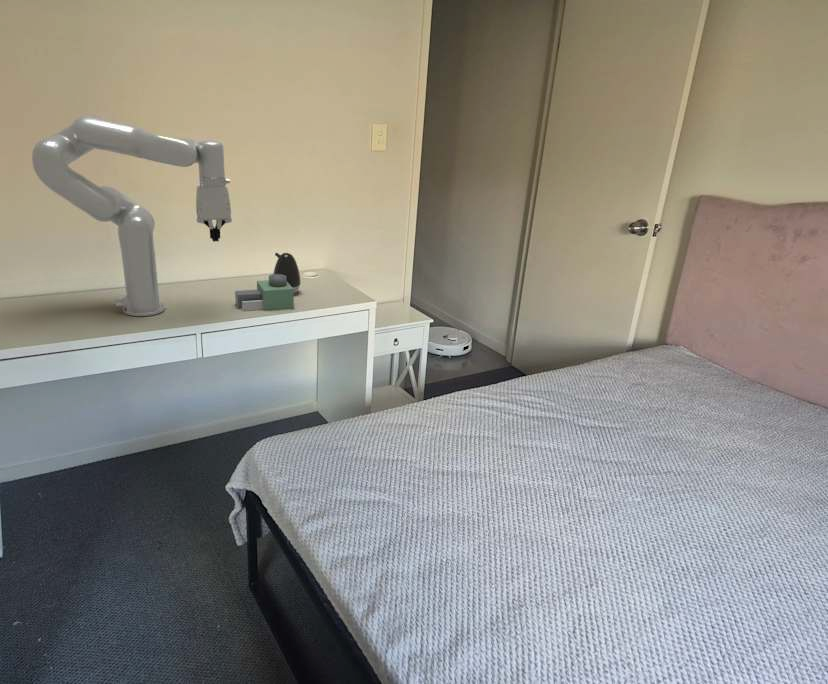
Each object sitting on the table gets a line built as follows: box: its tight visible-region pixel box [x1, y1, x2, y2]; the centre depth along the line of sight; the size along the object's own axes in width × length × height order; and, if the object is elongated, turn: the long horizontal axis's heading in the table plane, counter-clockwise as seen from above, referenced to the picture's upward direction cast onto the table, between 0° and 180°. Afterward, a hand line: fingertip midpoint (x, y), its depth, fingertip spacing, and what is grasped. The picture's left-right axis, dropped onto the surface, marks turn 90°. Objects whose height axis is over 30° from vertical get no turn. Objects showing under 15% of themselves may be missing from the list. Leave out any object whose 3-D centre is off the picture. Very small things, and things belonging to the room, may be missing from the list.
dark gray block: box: [234, 289, 262, 310], centre depth 204 cm, size 8×5×5 cm, turn 115°
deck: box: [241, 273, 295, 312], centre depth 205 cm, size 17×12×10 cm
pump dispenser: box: [273, 252, 301, 294], centre depth 219 cm, size 10×10×15 cm
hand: (215, 240), depth 192 cm, fingers closed
